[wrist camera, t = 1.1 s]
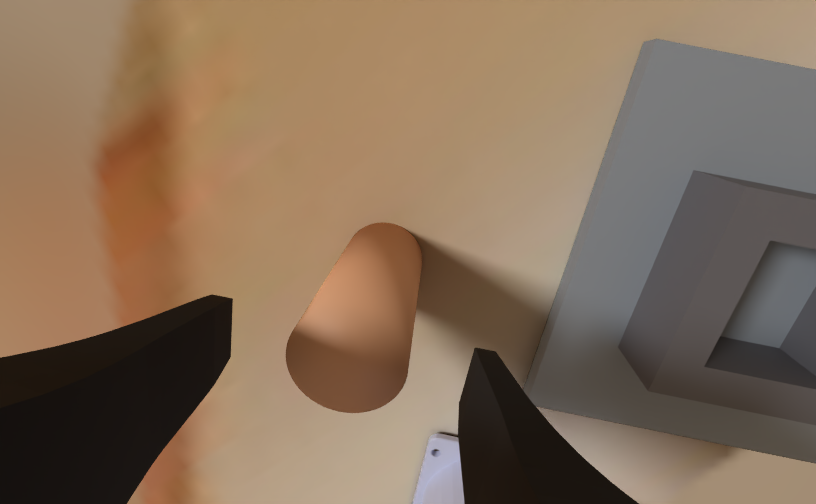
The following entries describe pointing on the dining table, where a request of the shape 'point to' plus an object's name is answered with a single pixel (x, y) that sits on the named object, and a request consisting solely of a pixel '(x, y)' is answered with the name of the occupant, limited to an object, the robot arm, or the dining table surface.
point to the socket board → (696, 260)
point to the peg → (360, 323)
